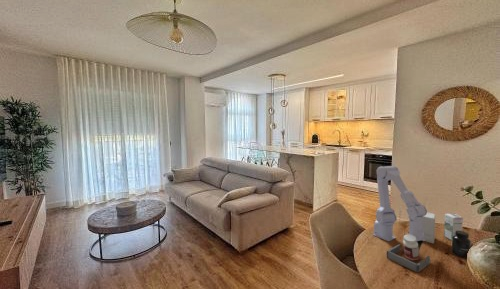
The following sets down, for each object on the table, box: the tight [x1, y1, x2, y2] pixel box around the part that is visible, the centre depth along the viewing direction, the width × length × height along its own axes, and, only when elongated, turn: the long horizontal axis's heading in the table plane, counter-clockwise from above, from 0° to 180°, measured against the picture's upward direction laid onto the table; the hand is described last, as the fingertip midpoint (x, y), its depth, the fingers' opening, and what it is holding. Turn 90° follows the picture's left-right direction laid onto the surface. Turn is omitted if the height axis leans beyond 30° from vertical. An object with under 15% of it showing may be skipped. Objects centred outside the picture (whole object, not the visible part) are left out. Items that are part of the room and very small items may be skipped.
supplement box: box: [423, 212, 436, 244], centre depth 126 cm, size 9×9×15 cm
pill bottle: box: [402, 233, 420, 261], centre depth 107 cm, size 6×6×11 cm
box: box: [386, 243, 431, 274], centre depth 106 cm, size 14×13×4 cm
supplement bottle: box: [451, 230, 472, 259], centre depth 109 cm, size 7×7×12 cm
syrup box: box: [443, 212, 464, 241], centre depth 125 cm, size 6×6×14 cm
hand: (415, 252), depth 110 cm, fingers closed
